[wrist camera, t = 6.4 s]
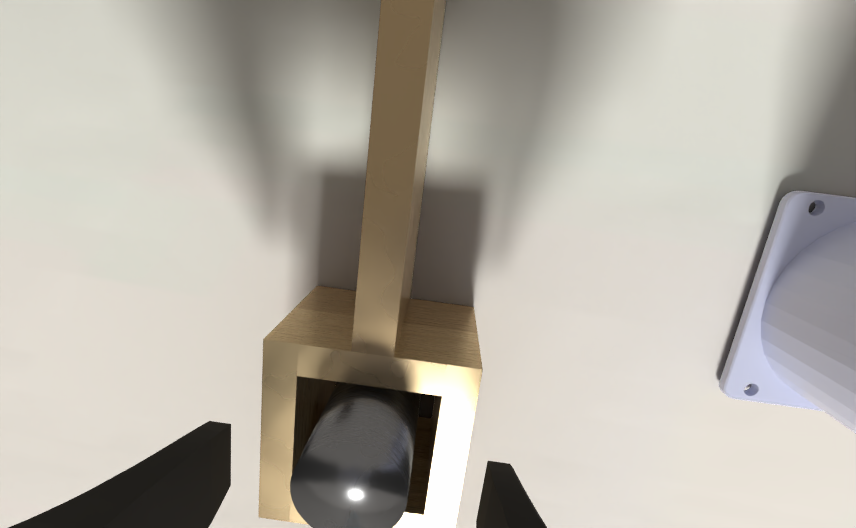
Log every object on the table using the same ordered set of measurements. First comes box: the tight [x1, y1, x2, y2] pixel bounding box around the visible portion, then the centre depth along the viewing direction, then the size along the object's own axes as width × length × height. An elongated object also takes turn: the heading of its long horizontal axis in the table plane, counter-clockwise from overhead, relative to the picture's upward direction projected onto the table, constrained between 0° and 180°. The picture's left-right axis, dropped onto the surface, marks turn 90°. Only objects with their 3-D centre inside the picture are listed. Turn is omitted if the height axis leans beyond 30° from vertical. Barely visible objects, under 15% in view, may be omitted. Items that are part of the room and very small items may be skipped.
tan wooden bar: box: [259, 0, 483, 528], centre depth 15 cm, size 6×28×5 cm, turn 173°
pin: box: [290, 382, 421, 528], centre depth 14 cm, size 3×3×7 cm
